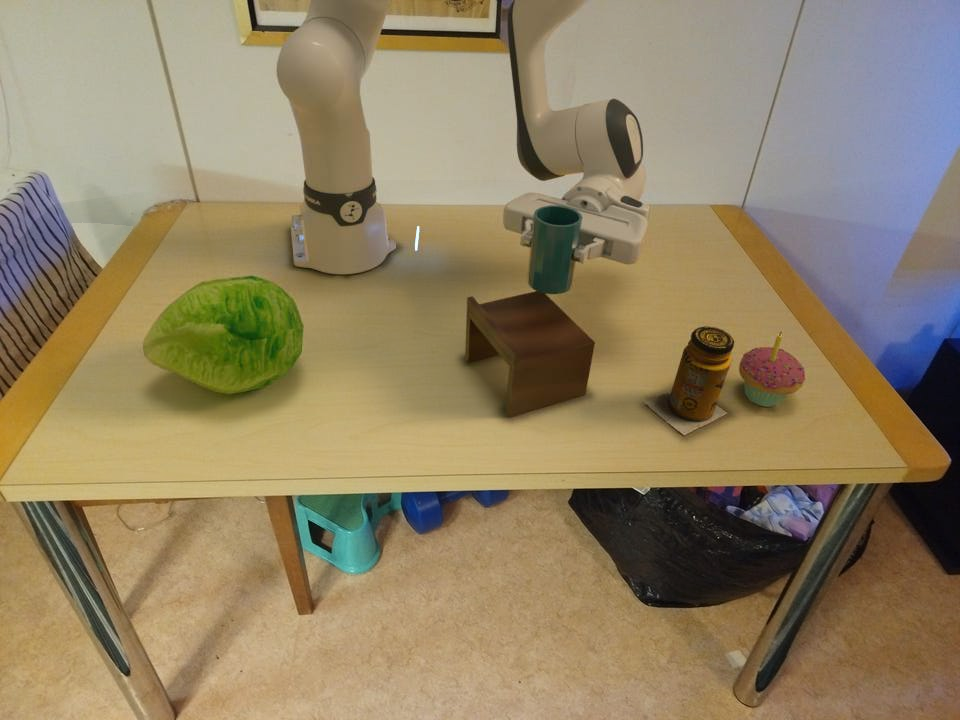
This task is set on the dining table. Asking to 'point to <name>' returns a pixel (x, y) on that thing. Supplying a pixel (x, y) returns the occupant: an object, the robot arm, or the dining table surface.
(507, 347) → the shelf
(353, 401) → the dining table surface
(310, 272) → the dining table surface
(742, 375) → the cupcake
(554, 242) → the cup
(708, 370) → the condiment
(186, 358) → the lettuce
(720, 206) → the dining table surface
